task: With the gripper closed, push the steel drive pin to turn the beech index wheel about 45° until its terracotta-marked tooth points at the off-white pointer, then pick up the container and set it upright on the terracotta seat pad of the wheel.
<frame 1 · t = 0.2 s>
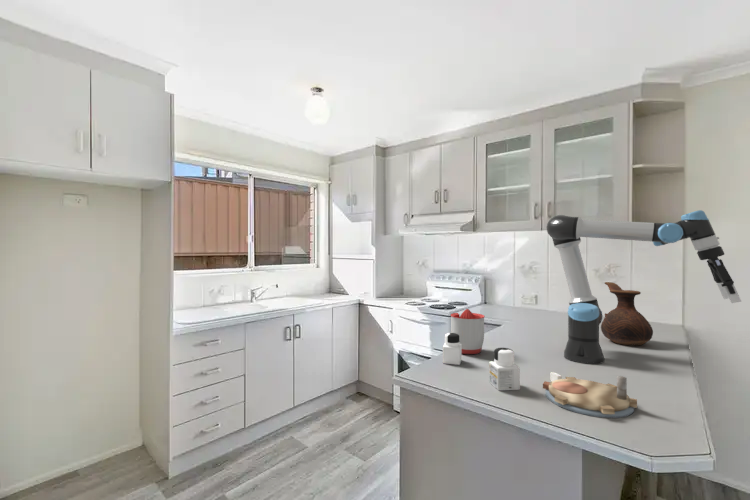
hand: (732, 300, 139), 28 cm above the counter, tool tilted 20°, fingers open, 13 cm apart
index wheel: (587, 383, 114), point 5 cm above the counter, hinge at 0.0°
wheel base: (587, 400, 114), on the counter
medicine bottle: (452, 362, 153), on the counter
citrus juicer: (466, 351, 170), on the counter
container: (504, 386, 125), on the counter
jug: (626, 343, 184), on the counter
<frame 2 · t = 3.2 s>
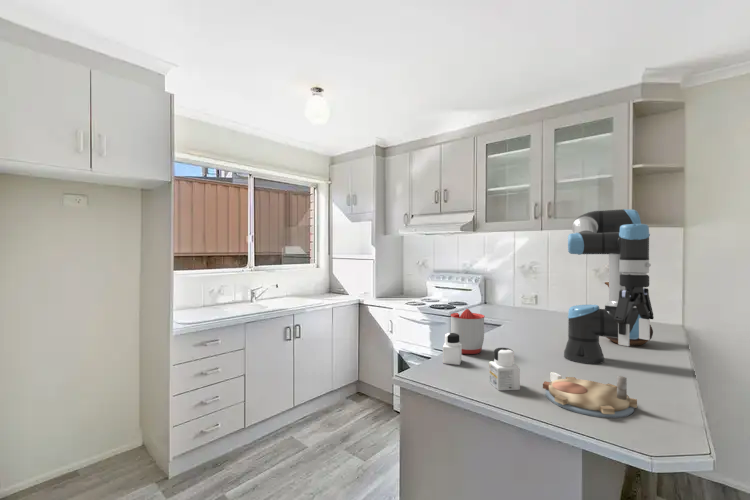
hand: (634, 342, 112), 19 cm above the counter, tool pointing down, fingers open, 13 cm apart
nothing on the counter moved.
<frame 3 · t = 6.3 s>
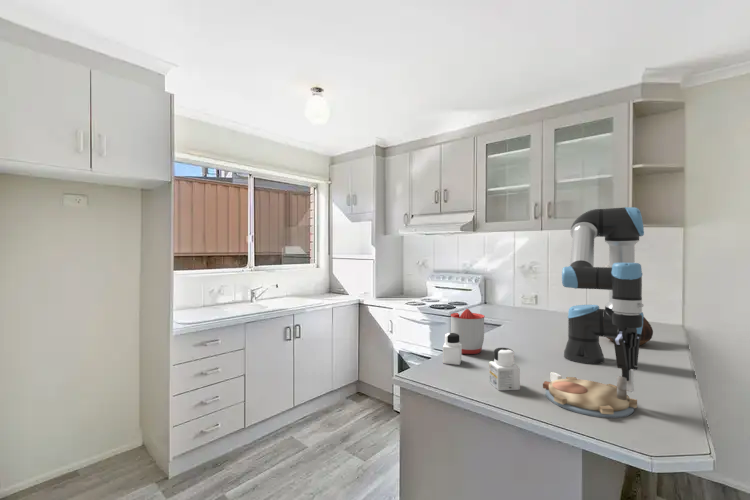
hand: (627, 390, 110), 5 cm above the counter, tool pointing down, fingers closed
index wheel: (587, 383, 114), point 5 cm above the counter, hinge at -1.3°, touching gripper
everything else where it was.
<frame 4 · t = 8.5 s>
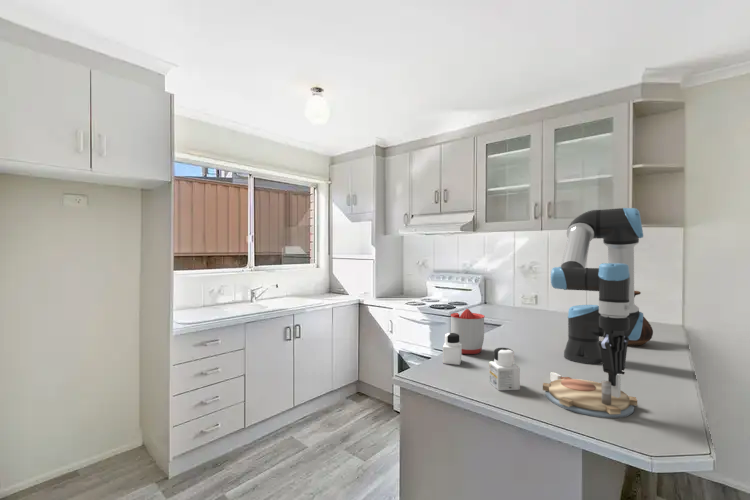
hand: (614, 395, 106), 5 cm above the counter, tool pointing down, fingers closed
index wheel: (587, 383, 114), point 5 cm above the counter, hinge at -52.1°, touching gripper
everything else where it was.
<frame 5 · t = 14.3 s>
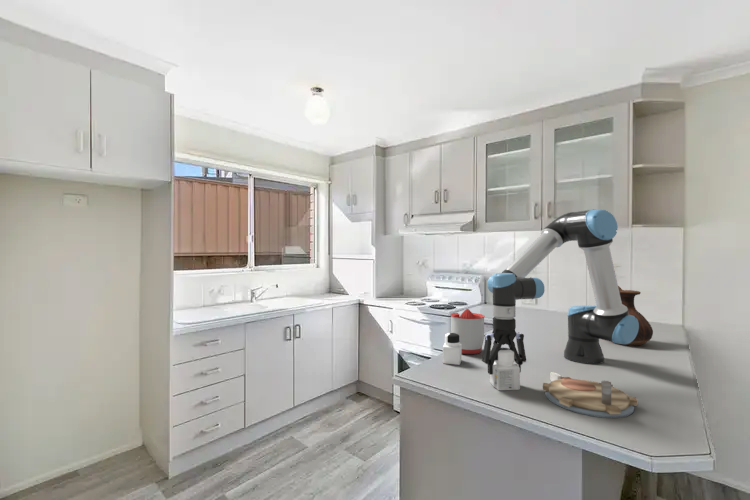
hand: (504, 382, 125), 1 cm above the counter, tool pointing down, fingers closed on container, 8 cm apart
index wheel: (587, 383, 114), point 5 cm above the counter, hinge at -52.1°
container: (504, 386, 125), on the counter, touching gripper
everything else where it was.
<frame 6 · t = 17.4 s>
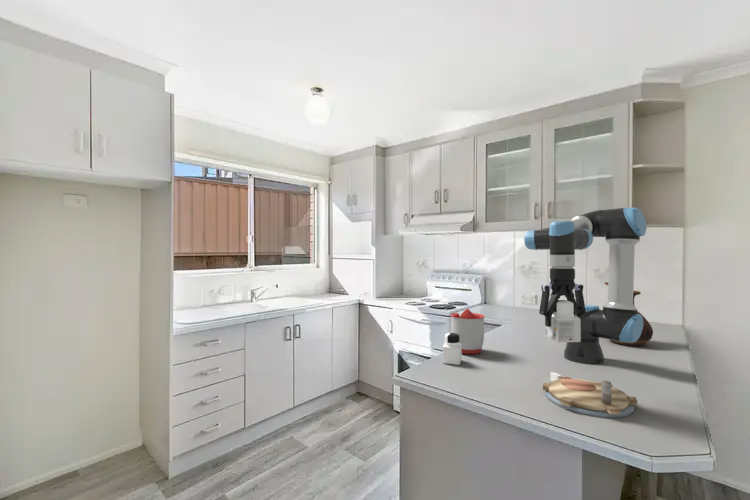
hand: (562, 335, 120), 19 cm above the counter, tool pointing down, fingers closed on container, 8 cm apart
container: (562, 340, 120), point 17 cm above the counter, touching gripper
everything else where it was.
when the fingers open (6 cm above the counter, at t = 20.8 s): container drops 1 cm, resting on index wheel.
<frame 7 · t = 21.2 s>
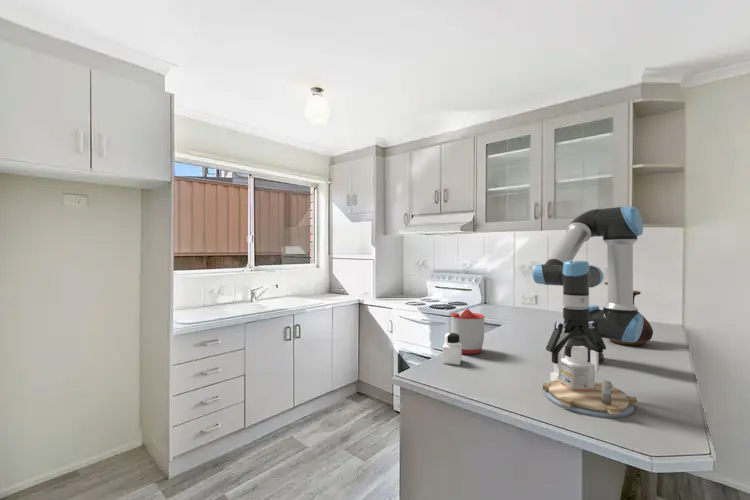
hand: (576, 372, 119), 7 cm above the counter, tool pointing down, fingers open, 13 cm apart
index wheel: (587, 383, 114), point 5 cm above the counter, hinge at -51.9°, touching container
container: (576, 385, 119), point 3 cm above the counter, touching index wheel
everything else where it was.
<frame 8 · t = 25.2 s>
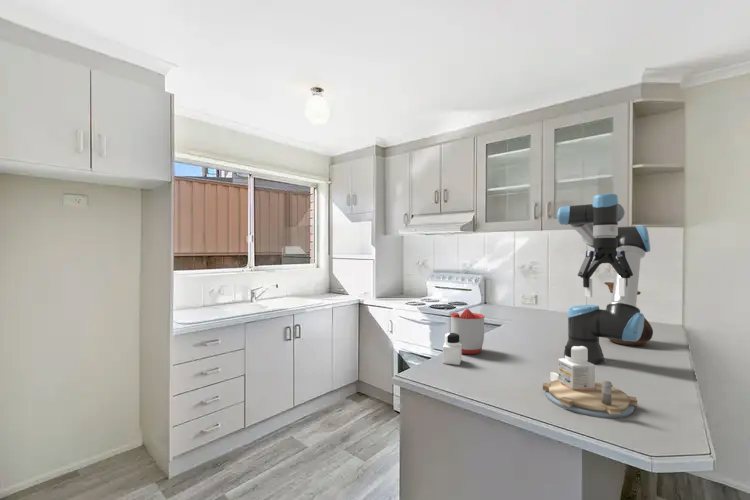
hand: (605, 296, 129), 31 cm above the counter, tool pointing down, fingers open, 13 cm apart
nothing on the counter moved.
at the end: index wheel at -52° (first picture: +0°); container 0.1 cm from the target spot, point 2.8 cm above the counter; container tilted 0° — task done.
